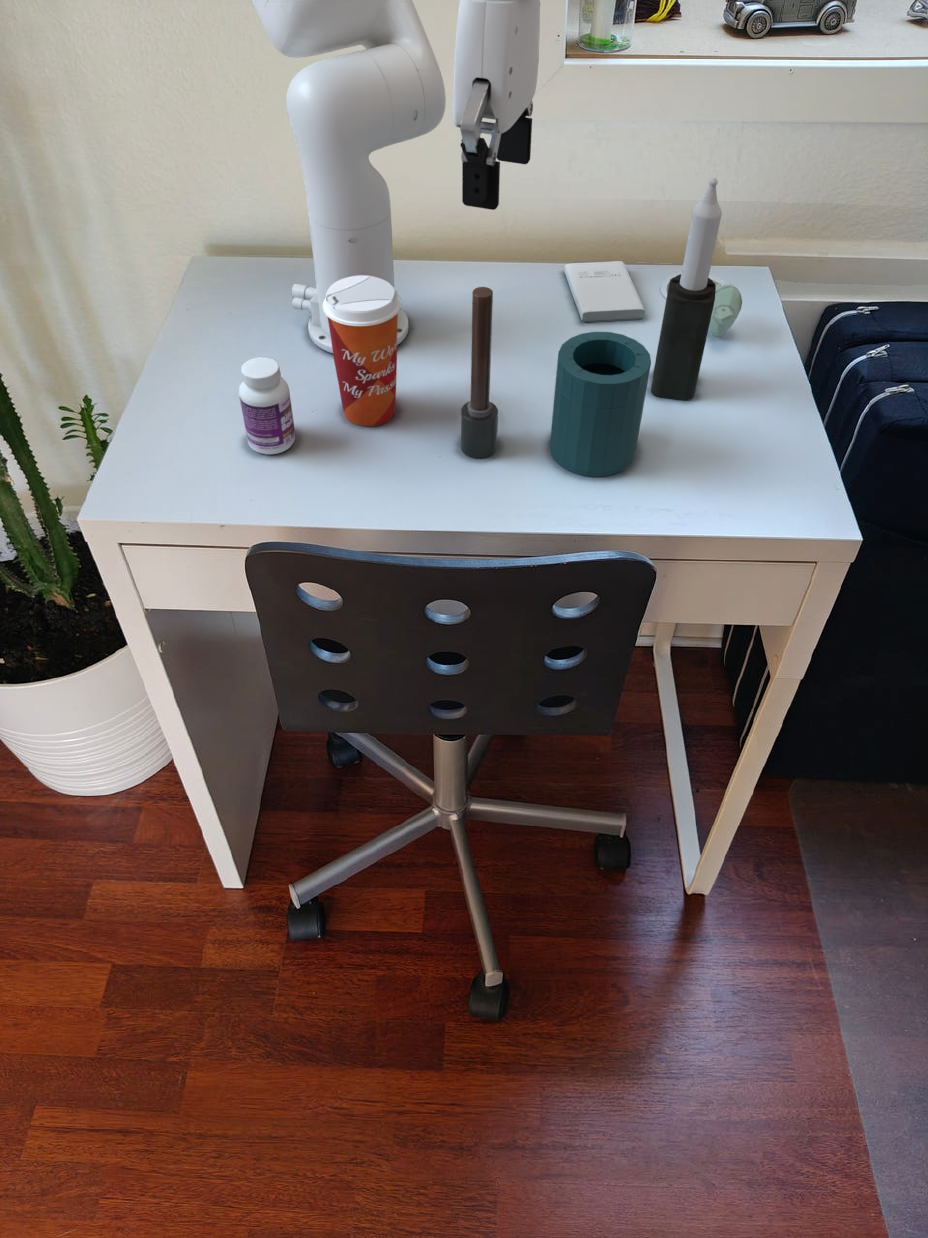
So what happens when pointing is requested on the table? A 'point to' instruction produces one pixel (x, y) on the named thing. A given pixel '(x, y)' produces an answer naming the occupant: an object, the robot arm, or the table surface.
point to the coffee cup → (364, 346)
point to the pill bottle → (266, 406)
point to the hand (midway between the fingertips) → (497, 182)
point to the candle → (688, 307)
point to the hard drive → (604, 291)
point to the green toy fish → (724, 309)
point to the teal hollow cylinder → (598, 403)
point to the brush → (480, 383)
